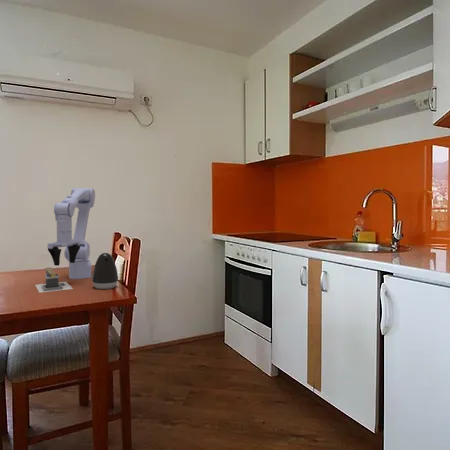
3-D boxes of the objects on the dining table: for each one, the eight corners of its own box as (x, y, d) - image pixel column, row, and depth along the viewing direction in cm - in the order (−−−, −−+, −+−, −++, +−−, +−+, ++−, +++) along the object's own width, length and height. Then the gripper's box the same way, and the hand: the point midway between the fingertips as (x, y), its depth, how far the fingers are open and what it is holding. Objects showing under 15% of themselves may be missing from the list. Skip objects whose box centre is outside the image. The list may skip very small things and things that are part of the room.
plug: (57, 286, 144) (57, 273, 144) (59, 289, 140) (59, 275, 140) (44, 288, 141) (44, 274, 141) (46, 290, 138) (46, 276, 137)
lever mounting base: (66, 283, 153) (66, 268, 153) (72, 291, 141) (72, 274, 141) (35, 287, 147) (35, 271, 146) (39, 295, 134) (39, 277, 134)
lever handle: (51, 271, 150) (51, 267, 150) (56, 277, 138) (56, 272, 138) (44, 272, 149) (44, 267, 149) (49, 278, 137) (49, 273, 137)
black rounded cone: (94, 293, 138) (93, 255, 137) (90, 287, 147) (90, 251, 147) (120, 290, 143) (120, 253, 142) (115, 285, 152) (115, 250, 151)
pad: (63, 283, 149) (63, 282, 149) (64, 285, 146) (64, 284, 146) (54, 284, 147) (54, 283, 147) (55, 286, 144) (55, 285, 144)
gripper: (71, 230, 154) (72, 260, 155) (42, 232, 141) (42, 265, 142) (83, 230, 151) (83, 262, 152) (54, 233, 138) (54, 267, 139)
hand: (64, 264), depth 147 cm, fingers open, 7 cm apart
